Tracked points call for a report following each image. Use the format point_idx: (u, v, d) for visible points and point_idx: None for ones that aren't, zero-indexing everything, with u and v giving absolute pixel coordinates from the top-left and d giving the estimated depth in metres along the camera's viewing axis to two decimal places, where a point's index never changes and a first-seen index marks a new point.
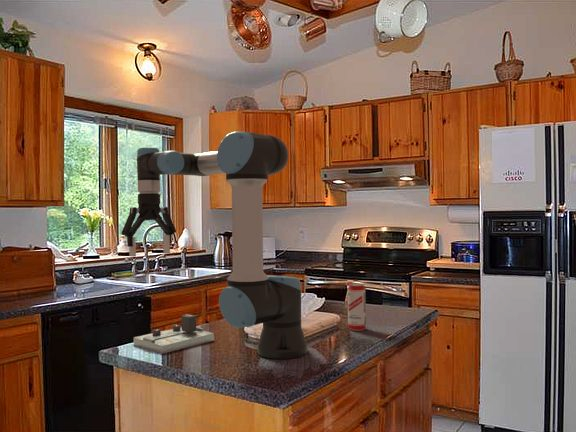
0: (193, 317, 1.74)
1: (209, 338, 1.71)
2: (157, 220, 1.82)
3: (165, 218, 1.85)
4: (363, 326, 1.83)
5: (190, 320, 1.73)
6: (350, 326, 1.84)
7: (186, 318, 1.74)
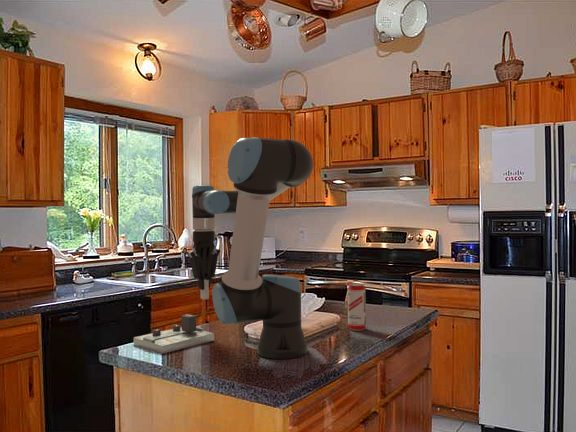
0: (193, 317, 1.74)
1: (209, 338, 1.71)
2: (206, 259, 1.81)
3: (212, 259, 1.83)
4: (363, 326, 1.83)
5: (190, 320, 1.73)
6: (350, 326, 1.84)
7: (186, 318, 1.74)
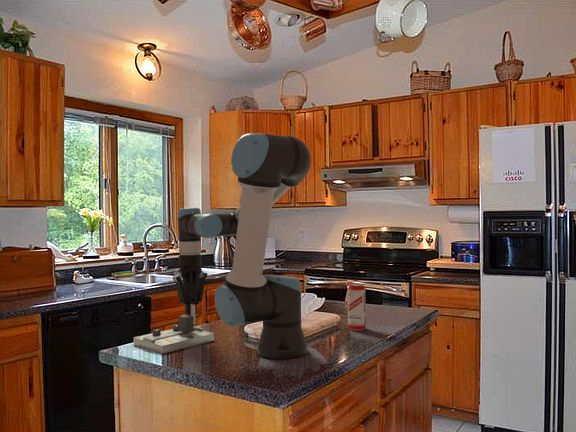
0: (190, 318, 1.73)
1: (209, 338, 1.71)
2: (192, 283, 1.76)
3: (199, 283, 1.79)
4: (363, 326, 1.83)
5: (187, 321, 1.72)
6: (350, 326, 1.84)
7: (183, 319, 1.73)
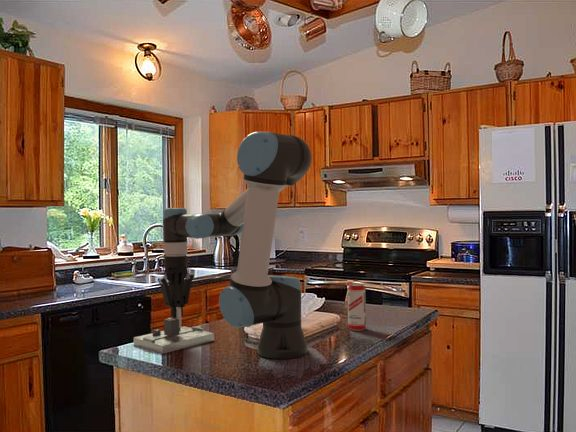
0: (176, 321, 1.69)
1: (209, 338, 1.71)
2: (178, 285, 1.72)
3: (185, 285, 1.74)
4: (363, 326, 1.83)
5: (172, 324, 1.68)
6: (350, 326, 1.84)
7: (168, 322, 1.68)
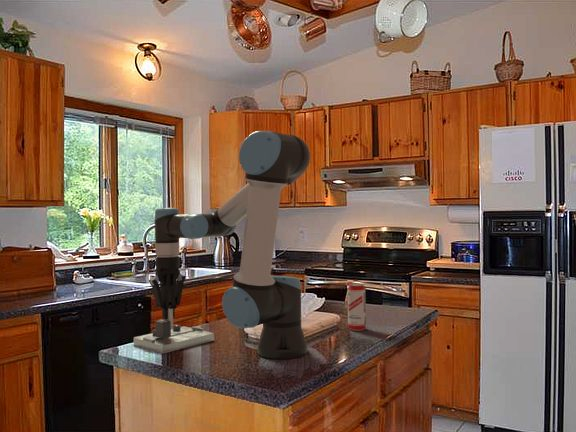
0: (167, 322, 1.67)
1: (209, 338, 1.71)
2: (170, 286, 1.69)
3: (177, 286, 1.72)
4: (363, 326, 1.83)
5: (164, 326, 1.66)
6: (350, 326, 1.84)
7: (160, 323, 1.66)
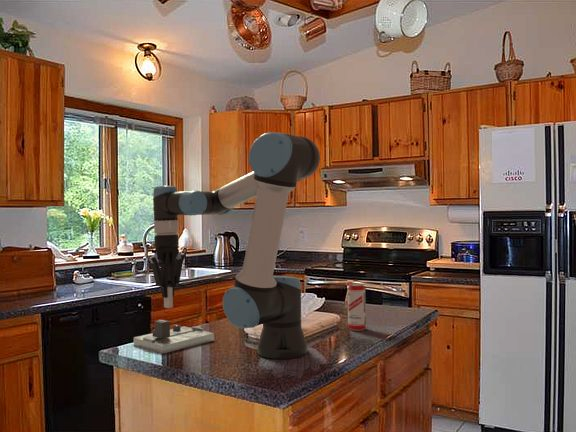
0: (166, 323, 1.66)
1: (209, 338, 1.71)
2: (169, 264, 1.69)
3: (176, 265, 1.71)
4: (363, 326, 1.83)
5: (163, 326, 1.65)
6: (350, 326, 1.84)
7: (159, 324, 1.66)
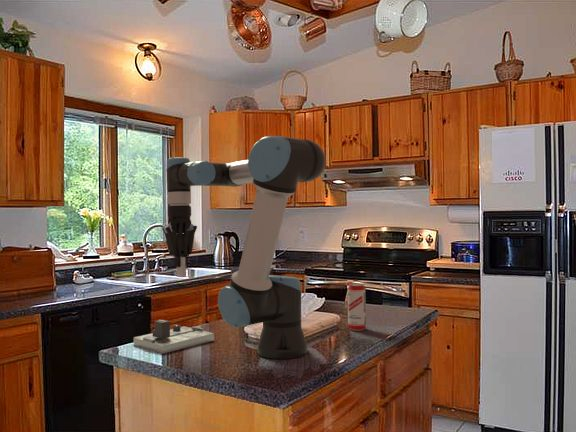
0: (166, 323, 1.66)
1: (209, 338, 1.71)
2: (182, 235, 1.73)
3: (188, 236, 1.75)
4: (363, 326, 1.83)
5: (163, 326, 1.65)
6: (350, 326, 1.84)
7: (159, 324, 1.66)
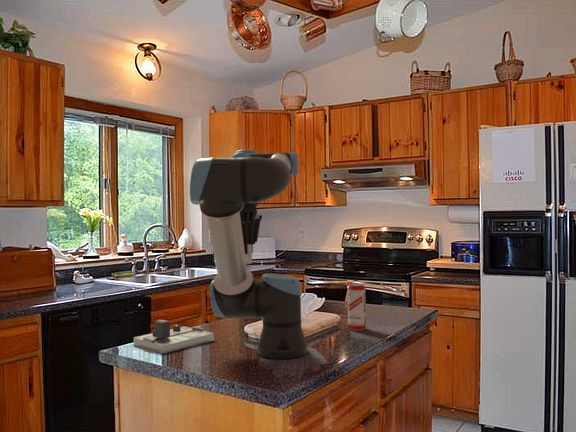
0: (166, 323, 1.66)
1: (209, 338, 1.71)
2: (248, 223, 1.82)
3: (254, 225, 1.84)
4: (363, 326, 1.83)
5: (163, 326, 1.65)
6: (350, 326, 1.84)
7: (159, 324, 1.66)
